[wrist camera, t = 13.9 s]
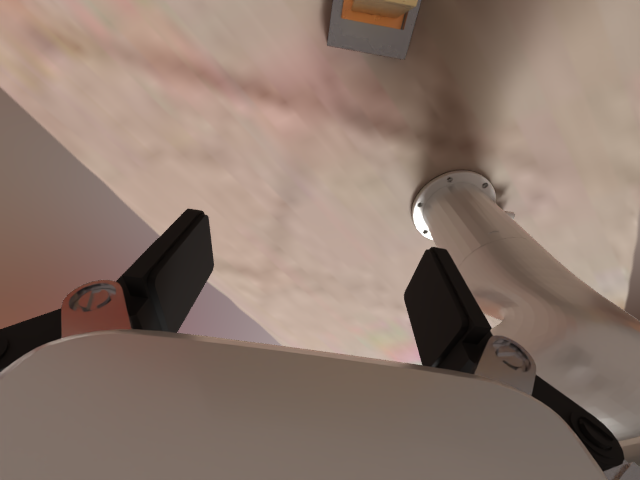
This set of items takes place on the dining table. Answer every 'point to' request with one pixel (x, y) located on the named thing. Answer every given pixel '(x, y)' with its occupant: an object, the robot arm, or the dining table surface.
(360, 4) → the brushed gold block
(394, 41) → the divided tray
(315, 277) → the dining table surface
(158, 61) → the dining table surface
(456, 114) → the dining table surface
